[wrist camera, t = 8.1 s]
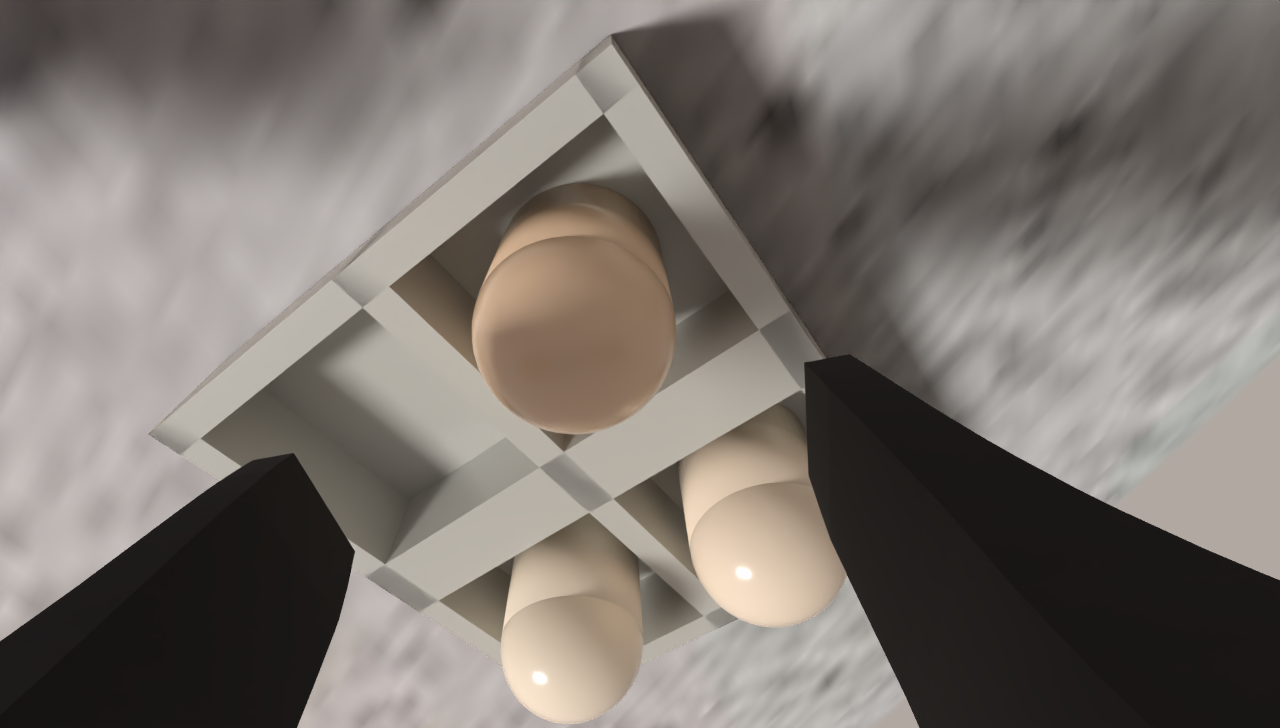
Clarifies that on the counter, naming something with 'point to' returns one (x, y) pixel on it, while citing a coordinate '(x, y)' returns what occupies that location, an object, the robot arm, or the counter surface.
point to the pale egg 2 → (759, 523)
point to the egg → (575, 312)
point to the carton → (464, 405)
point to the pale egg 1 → (573, 623)
